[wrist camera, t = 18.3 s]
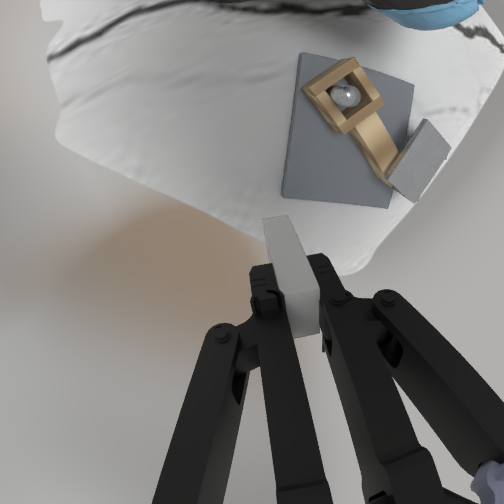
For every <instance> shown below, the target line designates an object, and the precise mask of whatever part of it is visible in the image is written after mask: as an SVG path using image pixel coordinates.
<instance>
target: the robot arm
mask: <svg viewBox="0 0 504 504" xmlns="http://www.w3.org/2000/svg"><path fill="white" fill-rule="evenodd" d="M211 1H216V2H243V1H249V0H211ZM362 1H364V2H365V3H366V5H367V6H369V7H370V8H372V9H374V10H376V11H380V12H382V13H383V14H385V15H386V16H388V17H389V18H391V19H392V20H394V21H395V22H397V23H398V24H400V25H402V26H404V27H407V28H413V29H417V30H424V31H427V30H438V29H443V28H446V27H450V26H453V25H455V24H458V23H460V22H462V21H464V20H466V19H468V18H469V17H471V16H472V15H473V14H475V13H476V12H477V11H478V10H479V7H478V5H480V4H484V2H485V1H486V0H362ZM262 221H263V227H264V233H265V239H266V245H267V251H268V258H269V262H270V263H269V264H264V265H259V266H253V267H252V269H251V271H250V273H249V276H250V284H251V292H252V297H251V300H250V303H251V307H252V312H253V314H252V316H251V317H250V318H249V319H248V320H247V321H246V322H244V323H242V324H240V325H238V326H236V327H235V326H234V325H232V324H229V323H221V324H217V325H215V326H213V327H212V328H211V329H209V330H208V332H207V334H206V336H205V340H204V342H203V345H202V348H201V351H200V354H199V357H198V360H197V363H196V366H195V369H194V372H193V375H192V378H191V381H190V384H189V387H188V390H187V393H186V396H185V399H184V402H183V405H182V408H181V411H180V415H179V418H178V421H177V424H176V427H175V430H174V433H173V437H172V440H171V443H170V446H169V449H168V452H167V455H166V459H165V462H164V465H163V468H162V471H161V475H160V478H159V481H158V485H157V488H156V491H155V494H154V498H153V501H152V504H223V500H224V496H225V492H226V487H227V482H228V478H229V473H230V469H231V464H232V459H233V454H234V449H235V444H236V440H237V435H238V430H239V425H240V420H241V415H242V410H243V405H244V400H245V395H246V390H247V385H248V379H249V374H250V371H251V370H253V369H255V368H257V367H259V366H260V368H261V377H262V385H263V392H264V400H265V407H266V414H267V422H268V429H269V437H270V444H271V451H272V458H273V465H274V473H275V480H276V496H277V504H333V501H332V496H331V492H330V488H329V484H328V482H327V479H326V477H325V473H324V468H323V464H322V459H321V455H320V450H319V446H318V441H317V437H316V432H315V428H314V424H313V420H312V415H311V411H310V406H309V402H308V398H307V393H306V389H305V385H304V381H303V377H302V372H301V368H300V364H299V360H298V356H297V352H296V348H295V344H294V340H293V339H295V338H299V337H304V336H309V335H314V334H318V333H320V328H321V331H322V334H323V335H322V336H323V337H322V338H323V339H322V352H325V351H326V354H327V357H328V361H329V363H330V367H331V370H332V373H333V377H334V380H335V383H336V386H337V390H338V393H339V396H340V400H341V403H342V406H343V410H344V413H345V417H346V420H347V424H348V427H349V431H350V434H351V438H352V441H353V445H354V449H355V452H356V456H357V459H358V463H359V467H360V471H361V475H362V491H363V495H364V500H365V504H478V503H475V502H473V501H471V500H469V499H466V498H464V497H462V496H460V495H458V494H456V493H454V492H452V491H450V490H448V489H446V488H443V487H442V484H441V481H440V478H439V475H438V472H437V469H436V466H435V463H434V460H433V458H432V456H431V454H430V452H429V451H428V450H427V448H425V447H422V446H421V445H420V444H419V442H418V440H417V437H416V435H415V432H414V429H413V427H412V424H411V421H410V419H409V416H408V414H407V411H406V409H405V407H404V404H403V402H402V399H401V397H400V394H399V392H398V390H397V387H396V385H395V383H394V380H393V378H394V379H395V381H396V382H397V383H398V385H399V386H400V387H401V388H402V390H403V391H404V392H405V393H406V395H407V396H408V397H409V399H410V400H411V401H412V403H413V404H414V405H415V407H416V408H417V409H418V410H419V412H420V413H421V414H422V416H423V417H424V418H425V420H426V421H427V422H428V423H429V425H430V426H431V428H432V429H433V430H434V432H435V433H436V434H437V436H438V437H439V438H440V440H441V441H442V442H443V444H444V445H445V447H446V448H447V449H448V451H449V452H450V453H451V455H452V456H453V457H454V459H455V460H456V461H457V463H458V464H459V465H460V466H461V467H462V468H463V469H464V470H465V471H466V472H467V473H468V474H470V475H471V476H473V477H474V480H473V481H472V483H471V490H472V491H473V492H475V493H476V494H477V495H478V496H479V498H480V501H481V504H504V402H503V401H502V400H501V399H500V398H499V396H498V395H497V394H496V393H495V392H494V391H493V389H491V387H490V386H489V385H488V384H487V383H486V381H485V380H484V379H483V378H482V377H481V376H480V375H479V374H478V372H477V371H476V370H475V369H474V368H473V367H472V366H471V365H470V364H469V363H468V362H467V361H466V359H465V358H464V357H463V356H462V355H461V354H460V353H459V352H458V351H457V350H456V349H455V348H454V347H453V346H452V345H451V344H450V343H449V342H448V341H447V340H446V339H445V338H444V337H443V336H442V335H441V334H440V332H438V330H437V329H435V328H434V327H433V326H432V325H431V324H430V323H429V322H428V321H427V320H426V319H425V318H424V317H423V316H422V315H421V314H420V313H419V312H418V311H417V310H416V309H415V308H414V307H413V306H412V305H411V304H410V303H409V302H408V301H407V300H406V299H404V298H403V297H402V296H401V295H400V294H399V293H397V292H396V291H393V290H390V289H384V290H380V291H378V292H377V293H376V294H375V295H374V297H373V299H369V298H357V297H354V296H353V295H352V294H351V292H349V291H347V290H345V289H344V287H343V285H342V283H341V281H340V279H339V277H338V275H337V273H336V271H335V269H334V267H333V266H332V264H331V262H330V260H329V258H328V257H327V256H325V255H324V254H322V253H319V254H313V255H308V256H306V254H305V252H304V250H303V248H302V245H301V243H300V241H299V238H298V236H297V234H296V232H295V229H294V227H293V225H292V223H291V220H290V218H289V216H288V215H284V216H278V217H272V218H267V219H262ZM392 377H393V378H392Z"/></svg>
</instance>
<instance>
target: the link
mask: <svg viewBox="0 0 504 504" xmlns="http://www.w3.org/2000/svg"><path fill="white" fill-rule="evenodd" d="M343 77H344V78H345V80H346V81H347V83H348V84H349V85H350V86H354V87H356V88H357V89H358V90H359V92H360V95H361V99H360V102H359V104H358V105H356V106H354V107H349V106H348V107H347V108H346V109H344V110H343V111H341V112H340V110H339V109H338V107H337V106H336V105H335V103H334V102H333V100H332V99H331V98H330V96H329V95H328V94H327V92H326V91H325V90H326V89H327V88H329V87H330V86H332V85H333V84H335V83H336V82H337V81H339V80H340V79H342V78H343ZM301 89H302V90H303V91H304V93H305V94H306V95H307V96H308V98H309V99H310V100H311V102H312V103H313V104H314V105H315V107H316V108H317V109H318V111H319V112H320V113H321V115H322V116H323V117H324V119H325V120H326V121H327V123H328V124H329V125H330V127H331V128H332V130H334V131H337V132H339V133H341V134H344V135H345V134H346V133H347V132H349V133H350V134H351V136H352V137H353V139H354V140H355V142H356V143H357V145H358V146H359V148H360V149H361V151H362V153H363V154H364V156H365V157H366V159H367V161H368V162H369V164H370V166H371V167H372V169H373V171H374V172H375V174H376V176H377V177H378V179H380V180H381V181H383V182H384V183H385V184H387V185H388V186H390V187H393V185H392V184H391V183H389V182H388V181H387V180H386V179H385V178H384V177H385V175H386V174H387V172H388V171H389V169H390V168H391V167H392V165H393V164H394V162H395V161H396V159H397V158H398V156H399V155H400V154H399V152H398V150H397V148H396V146H395V144H394V142H393V140H392V139H391V137H390V135H389V133H388V132H387V130H386V128H385V126H384V125H383V123H382V121H381V119H380V118H379V116H378V115H377V113H376V111H377V110H378V109H380V108H381V107H383V106H384V105H385V103H384V101H383V100H382V98H381V96H380V95H379V93H378V92H377V90H376V88H375V87H374V85H373V84H372V82H371V81H370V79H369V78H368V76H367V75H366V73H365V72H364V70H363V69H362V67H361V66H360V65H359V63H358V62H357V60H356V59H355V58H354V57H352V58H347V59H342V60H340V61H338V62H337V63H335V64H334V65H332V66H331V67H329V68H328V69H326V70H325V71H323V72H322V73H321V74H319V75H318V76H316V77H315V78H313V79H312V80H310V81H309V82H308V83H306V84H305V85H303V86H302V87H301Z"/></svg>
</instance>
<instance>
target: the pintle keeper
mask: <svg viewBox="0 0 504 504" xmlns="http://www.w3.org/2000/svg"><path fill="white" fill-rule="evenodd" d="M325 91H326V92H327V94H328V95H329V96H330V98H331V99H332V100H333V102H334V103H335V104H338V105H343V106H349V107H354V106H356V105H358V104H359V102H360V99H361V95H360V92H359V90H358V89H357V88H356V87H354V86H350V85H332V86H330V87H329V88H327V89H326V90H325ZM450 150H451V147H450V146H449V144H448V143H447V142H446V141H445V139H444V138H443V137H442V136H441V134H440V133H439V132H438V131H437V130H436V129H435V127H434V126H433V125H432V124H431V123H430V122H429V121H428V120H427V119H422V121H421V123H420V124H419V126H418V127H417V129H416V130H415V132H414V134H413V135H412V137H411V138H410V140H409V141H408V143H407V144H406V146H405V147H404V149H403V150H402V152H401V153H400V155H399V156H398V158H397V159H396V161H395V162H394V164H393V165H392V167H391V168H390V169H389V171H388V172H387V174H386V175H385V177H384V178H385V179H386V180H387V181H388V182H389V183H391V184H392V185H393V187H392V188H394V189H395V190H396V191H398V192H399V193H400V194H402V195H403V196H404V197H406V198H407V199H408V200H410V201H411V202H412V203H414V204H415V202H416V201H417V202H418V201H419V198H420V195H421V194H422V192H423V191H424V189H425V188H426V187H427V185H428V184H429V182H430V181H431V179H432V178H433V176H434V175H435V173H436V172H437V170H438V169H439V167H440V166H441V164H442V162H443V161H444V159H445V160H446V159H447V155H448V153H449V151H450Z"/></svg>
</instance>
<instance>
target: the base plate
mask: <svg viewBox="0 0 504 504" xmlns="http://www.w3.org/2000/svg"><path fill="white" fill-rule="evenodd" d="M338 61H340V60H336V59H332V58H328V57H323V56H319V55H314V54H309V53H304V52H302V53H300V56H299V64H298V73H297V81H296V89H295V97H294V105H293V113H292V121H291V128H290V136H289V143H288V150H287V158H286V165H285V172H284V179H283V186H282V193H281V194H282V196H283V198H290V199H302V200H313V201H324V202H334V203H344V204H353V205H362V206H370V207H378V208H386V209H388V207H389V204H390V200H391V197H392V193H393V189H394V188H392V187H390V186H388V185H387V184H385V183H384V182H383V181H381V180H380V179H378V177H377V176H376V174H375V172H374V171H373V169H372V167H371V166H370V164H369V162H368V161H367V159H366V157H365V156H364V154H363V153H362V151H361V149H360V148H359V146H358V145H357V143H356V142H355V140H354V139H353V137H352V136H351V134H350V133H349V132H347V133H346V134H345V135H344V134H341V133H339V132H337V131H334V130H332V128H331V127H330V125H329V124H328V123H327V121H326V120H325V119H324V117H323V116H322V115H321V113H320V112H319V111H318V109H317V108H316V107H315V105H314V104H313V103H312V102H311V100H310V99H309V98H308V96H307V95H306V94H305V93H304V91H303V90H302V89H301V87H302V86H303V85H305V84H306V83H308V82H309V81H310V80H312V79H313V78H315V77H316V76H318V75H319V74H321V73H322V72H323V71H325V70H326V69H328V68H329V67H331V66H332V65H334V64H335V63H337V62H338ZM361 67H362V66H361ZM362 69H363V70H364V72H365V73H366V75H367V76H368V78H369V79H370V81H371V82H372V84H373V85H374V87H375V88H376V90H377V92H378V93H379V95H380V96H381V98H382V100H383V101H384V103H385V105H384V106H383V107H381V108H380V109H378V110H377V111H376V113H377V115H378V116H379V118H380V119H381V121H382V123H383V125H384V126H385V128H386V130H387V132H388V133H389V135H390V137H391V139H392V140H393V142H394V144H395V146H396V148H397V150H398V152H399V154H400V153H401V152H402V150H403V148H404V143H405V138H406V133H407V128H408V123H409V117H410V112H411V106H412V99H413V92H414V85H413V84H411V83H408V82H406V81H403V80H401V79H398V78H395V77H392V76H390V75H387V74H384V73H381V72H378V71H375V70H372V69H368V68H365V67H362ZM333 85H349V84H348V83H347V81H346V80H345V78H344V77H343V78H342V79H340V80H339V81H337V82H336V83H335V84H333ZM335 105H336V106H337V107H338V109H339V110H340V112H341V111H343V110H344V109H346V108H347V107H348V106H343V105H338V104H335Z"/></svg>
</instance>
